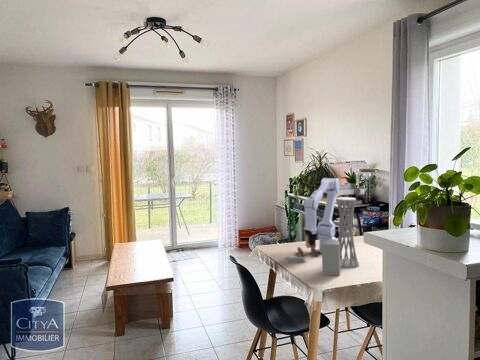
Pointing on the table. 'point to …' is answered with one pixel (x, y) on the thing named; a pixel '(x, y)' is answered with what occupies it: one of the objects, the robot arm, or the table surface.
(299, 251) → the shelf slot
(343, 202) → the vase
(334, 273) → the skincare box
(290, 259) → the slate mat
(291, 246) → the table surface
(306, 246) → the oak block
